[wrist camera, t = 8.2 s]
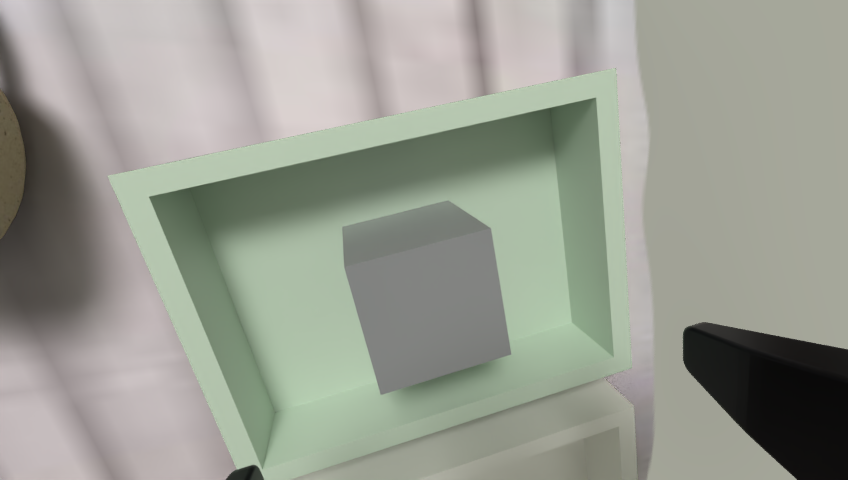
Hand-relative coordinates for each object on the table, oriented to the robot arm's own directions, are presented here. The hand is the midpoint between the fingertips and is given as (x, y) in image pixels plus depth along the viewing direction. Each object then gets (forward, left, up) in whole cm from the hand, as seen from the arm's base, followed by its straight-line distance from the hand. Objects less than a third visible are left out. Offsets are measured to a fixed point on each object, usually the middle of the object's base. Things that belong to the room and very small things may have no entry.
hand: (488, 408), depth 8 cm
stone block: (0, 0, -10) cm, 10 cm away
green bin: (0, 0, -11) cm, 11 cm away
